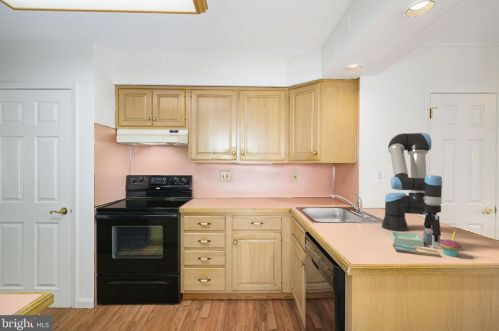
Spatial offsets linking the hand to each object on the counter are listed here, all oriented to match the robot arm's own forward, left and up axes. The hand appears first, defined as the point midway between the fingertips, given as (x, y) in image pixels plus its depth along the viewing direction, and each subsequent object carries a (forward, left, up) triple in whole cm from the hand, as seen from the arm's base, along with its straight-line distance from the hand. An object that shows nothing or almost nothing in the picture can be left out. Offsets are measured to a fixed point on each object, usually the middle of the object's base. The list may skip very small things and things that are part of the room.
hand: (431, 243), depth 139 cm
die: (0, 0, 0) cm, 0 cm away
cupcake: (+15, +4, 0) cm, 16 cm away
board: (+15, -11, 0) cm, 19 cm away
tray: (0, -12, 0) cm, 12 cm away
